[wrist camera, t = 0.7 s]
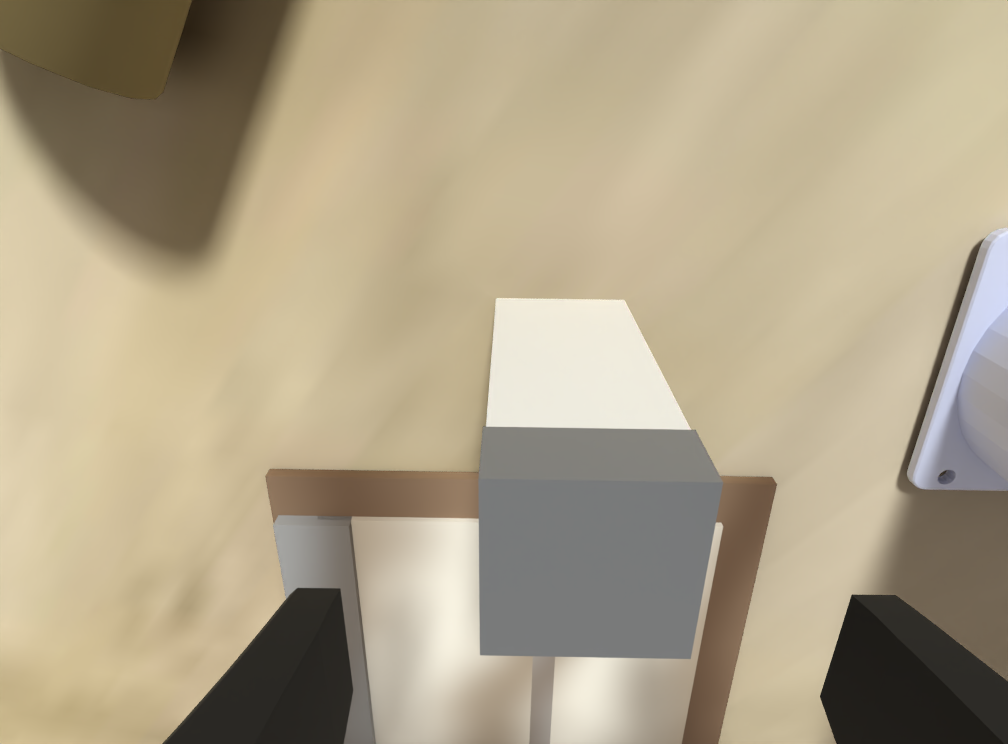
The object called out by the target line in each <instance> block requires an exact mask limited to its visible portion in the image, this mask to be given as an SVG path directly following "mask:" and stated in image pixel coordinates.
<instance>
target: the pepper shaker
mask: <svg viewBox="0 0 1008 744" xmlns="http://www.w3.org/2000/svg"><path fill="white" fill-rule="evenodd" d="M191 2H192V0H0V49H2V50H4V51H6V52H8V53H11V54H13V55H15V56H17V57H19V58H21V59H23V60H25V61H27V62H29V63H31V64H34V65H36V66H39V67H41V68H44V69H46V70H49V71H51V72H54V73H56V74H59V75H61V76H64V77H66V78H69V79H71V80H74V81H76V82H79V83H81V84H84V85H86V86H89V87H92V88H96V89H99V90H103V91H106V92H110V93H114V94H117V95H121V96H124V97H128V98H135V99H156V98H157V97H158V96H159V95H160V94H161V93H162V92H163V91H164V88H165V85H166V81H167V78H168V75H169V72H170V69H171V66H172V62H173V59H174V56H175V53H176V50H177V46H178V43H179V40H180V37H181V34H182V31H183V27H184V24H185V21H186V18H187V15H188V11H189V8H190V5H191Z"/></svg>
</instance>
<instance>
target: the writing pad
mask: <svg viewBox="0 0 1008 744" xmlns="http://www.w3.org/2000/svg"><path fill="white" fill-rule="evenodd" d="M720 477H721V479H722V481H723V486H722V492H721V497H720V503H719V508H718V514H717V519H716V524H715V530H714V535H713V541H712V546H711V552H710V557H709V562H708V568H707V573H706V579H705V584H704V590H703V595H702V600H701V606H700V611H699V617H698V622H697V628H696V633H695V639H694V644H693V649H692V655H691V659H655V658H599V657H543V656H487V655H480V613H479V485H478V478H479V472H419V471H356V470H293V469H270V470H269V471H268V473H267V475H266V482H267V488H268V494H269V499H270V505H271V511H272V516H273V522H274V524H273V527H274V533H275V539H276V544H277V550H278V556H279V562H280V567H281V573H282V579H283V584H284V590H285V596H286V599H287V598H288V596H289V595H290V594H291V593H292V592H293V591H294V590H295V589H297V588H340V589H341V597H342V605H343V613H344V621H345V628H346V636H347V644H348V652H349V660H350V668H351V676H352V684H353V695H352V701H351V707H350V712H349V718H348V723H347V729H346V734H345V739H344V744H718V742H719V737H720V733H721V728H722V724H723V720H724V715H725V711H726V706H727V702H728V698H729V693H730V689H731V684H732V680H733V675H734V671H735V667H736V662H737V658H738V653H739V649H740V645H741V640H742V636H743V631H744V627H745V623H746V618H747V614H748V609H749V605H750V601H751V596H752V592H753V587H754V583H755V579H756V574H757V570H758V565H759V561H760V557H761V552H762V548H763V543H764V539H765V535H766V530H767V526H768V521H769V517H770V512H771V508H772V504H773V499H774V495H775V490H776V486H777V484H776V482H775V481H774V479H773V478H772V477H731V476H720Z"/></svg>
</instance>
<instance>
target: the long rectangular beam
mask: <svg viewBox="0 0 1008 744" xmlns="http://www.w3.org/2000/svg"><path fill="white" fill-rule="evenodd" d="M478 485H479V613H480V655H487V656H543V657H599V658H655V659H691V655H692V649H693V644H694V639H695V633H696V628H697V622H698V617H699V611H700V606H701V600H702V595H703V590H704V584H705V579H706V573H707V568H708V562H709V557H710V552H711V546H712V541H713V535H714V530H715V524H716V519H717V514H718V508H719V503H720V497H721V492H722V486H723V481H722V479H721V477H720V476H719V474H718V472H717V470H716V468H715V466H714V464H713V462H712V460H711V458H710V457H709V455H708V453H707V451H706V449H705V447H704V445H703V443H702V441H701V439H700V438H699V436H698V434H697V432H696V430H691V429H690V427H689V425H688V423H687V421H686V419H685V417H684V415H683V413H682V411H681V409H680V408H679V406H678V404H677V402H676V400H675V398H674V396H673V394H672V392H671V390H670V388H669V386H668V384H667V382H666V380H665V378H664V376H663V374H662V372H661V370H660V369H659V367H658V365H657V363H656V361H655V359H654V357H653V355H652V353H651V351H650V349H649V347H648V345H647V343H646V341H645V339H644V337H643V335H642V333H641V331H640V330H639V328H638V326H637V324H636V322H635V320H634V318H633V316H632V314H631V312H630V310H629V308H628V306H627V304H626V302H625V300H595V299H522V298H496V305H495V318H494V331H493V344H492V357H491V370H490V382H489V395H488V408H487V421H486V427H483V432H482V444H481V455H480V467H479V478H478Z"/></svg>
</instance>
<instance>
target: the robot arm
mask: <svg viewBox="0 0 1008 744" xmlns="http://www.w3.org/2000/svg"><path fill="white" fill-rule="evenodd" d="M945 470H947V472H946V473H945V474H944V475H942V476H940V477H938V476H939V475H940V473H942V472H943V471H945ZM907 477H908V479H909V480H910V481H911V482H912V483H913V484H914V485H915V486H916V487H917V488H919V489H924V490H982V491H1008V228H1002V229H997V230H996V231H994V232H992V233H990V234H989V235H988V236H987V237H986V238H985V239H984V241H983V243H982V244H981V246H980V249H979V252H978V255H977V258H976V261H975V265H974V268H973V271H972V274H971V277H970V280H969V283H968V286H967V289H966V292H965V295H964V298H963V301H962V304H961V307H960V311H959V314H958V317H957V320H956V323H955V326H954V329H953V332H952V335H951V338H950V341H949V344H948V347H947V350H946V353H945V357H944V360H943V363H942V366H941V369H940V372H939V375H938V378H937V381H936V384H935V387H934V390H933V393H932V396H931V399H930V403H929V406H928V409H927V412H926V415H925V418H924V421H923V424H922V427H921V430H920V433H919V436H918V439H917V442H916V445H915V449H914V452H913V455H912V458H911V461H910V464H909V467H908V470H907ZM352 695H353V684H352V676H351V668H350V660H349V652H348V644H347V636H346V628H345V621H344V613H343V605H342V597H341V589H340V588H297V589H295V590H294V591H293V592H292V593H291V594H290V595H289V596H288V598H287V599H286V600H285V601H284V602H283V604H282V605H281V606H280V607H279V609H278V610H277V611H276V612H275V614H274V615H273V616H272V617H271V619H270V620H269V621H268V622H267V624H266V625H265V626H264V627H263V628H262V630H261V631H260V632H259V633H258V635H257V636H256V637H255V638H254V639H253V641H252V642H251V643H250V644H249V645H248V647H247V648H246V649H245V650H244V651H243V653H242V654H241V655H240V656H239V657H238V659H237V660H236V661H235V662H234V663H233V665H232V666H231V667H230V668H229V669H228V670H227V672H226V673H225V674H224V675H223V676H222V677H221V679H220V680H219V681H218V682H217V683H216V684H215V685H214V687H213V688H212V689H211V690H210V691H209V692H208V693H207V694H206V696H205V697H204V698H203V699H202V700H201V701H200V702H199V704H198V705H197V706H196V707H195V708H194V709H193V710H192V712H191V713H190V714H189V715H188V716H187V717H186V718H185V719H184V721H183V722H182V723H181V724H180V725H179V726H178V727H177V728H176V730H175V731H174V732H173V733H172V734H171V735H170V736H169V737H168V738H167V739H166V740H165V741H164V743H163V744H344V739H345V734H346V729H347V723H348V718H349V712H350V707H351V701H352ZM820 698H821V701H822V704H823V706H824V709H825V712H826V715H827V718H828V721H829V724H830V727H831V729H832V732H833V735H834V738H835V741H836V743H837V744H1008V682H1007V681H1006V680H1005V679H1004V678H1002V677H1001V676H1000V675H999V674H997V673H996V672H995V671H993V670H992V669H991V668H990V667H988V666H987V665H986V664H985V663H983V662H982V661H981V660H979V659H978V658H977V657H976V656H974V655H973V654H972V653H970V652H969V651H968V650H967V649H965V648H964V647H963V646H962V645H960V644H959V643H958V642H956V641H955V640H954V639H953V638H951V637H950V636H949V635H948V634H946V633H945V632H944V631H942V630H941V629H940V628H939V627H937V626H936V625H935V624H933V623H932V622H931V621H929V620H928V619H927V618H926V617H924V616H923V615H922V614H920V613H919V612H918V611H916V610H915V609H914V608H912V607H911V606H910V605H908V604H907V603H905V602H904V601H903V600H901V599H900V598H899V597H897V596H896V595H852V596H851V599H850V602H849V606H848V609H847V612H846V615H845V618H844V622H843V625H842V628H841V631H840V634H839V638H838V641H837V644H836V647H835V650H834V654H833V657H832V660H831V663H830V666H829V669H828V673H827V676H826V679H825V682H824V685H823V689H822V692H821V695H820Z"/></svg>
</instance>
